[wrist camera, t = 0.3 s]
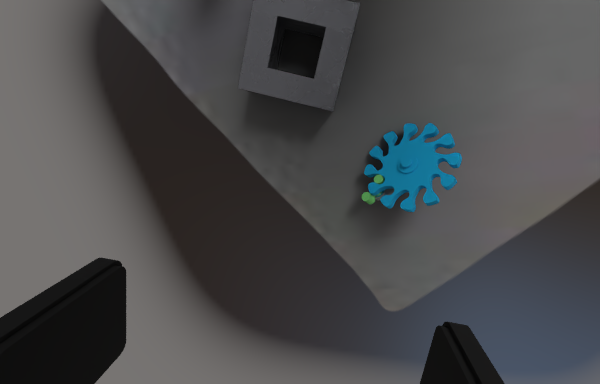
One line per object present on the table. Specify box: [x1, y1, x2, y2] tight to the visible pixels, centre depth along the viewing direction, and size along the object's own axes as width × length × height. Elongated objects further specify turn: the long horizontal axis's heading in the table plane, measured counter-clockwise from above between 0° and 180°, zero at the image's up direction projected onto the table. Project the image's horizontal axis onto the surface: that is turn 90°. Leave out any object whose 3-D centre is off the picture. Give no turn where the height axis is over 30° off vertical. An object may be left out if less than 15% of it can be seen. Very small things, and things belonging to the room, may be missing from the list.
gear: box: [362, 123, 462, 212], centre depth 36 cm, size 11×6×10 cm
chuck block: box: [238, 0, 360, 112], centre depth 33 cm, size 10×10×5 cm
